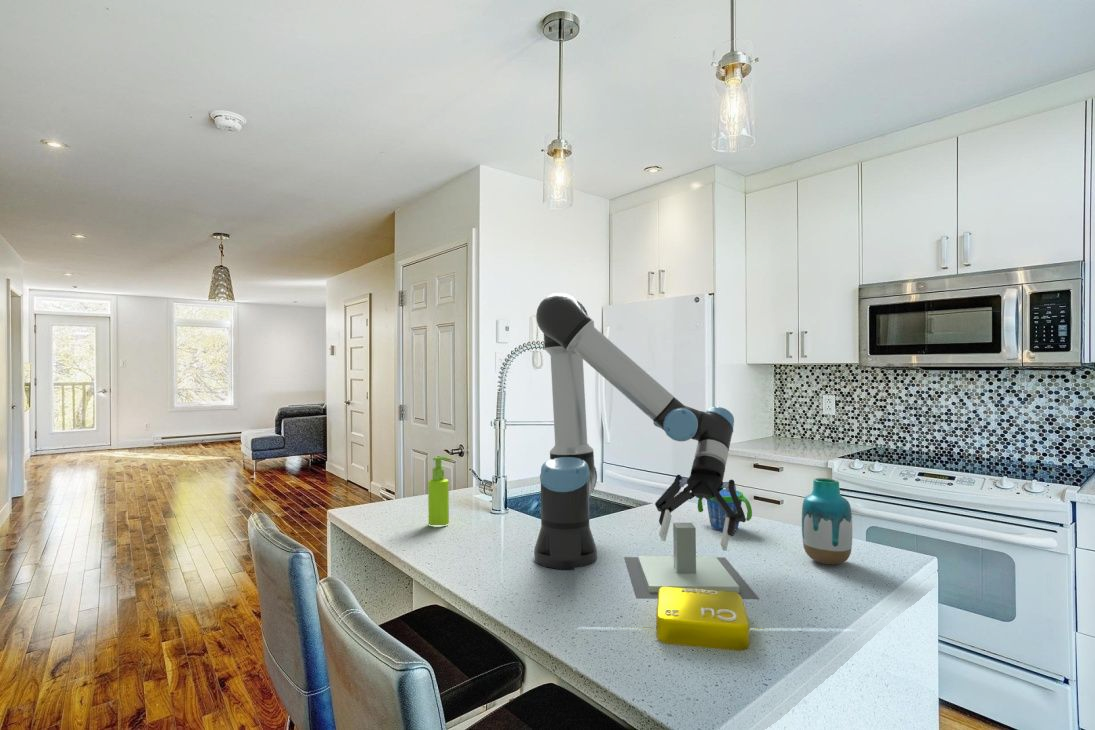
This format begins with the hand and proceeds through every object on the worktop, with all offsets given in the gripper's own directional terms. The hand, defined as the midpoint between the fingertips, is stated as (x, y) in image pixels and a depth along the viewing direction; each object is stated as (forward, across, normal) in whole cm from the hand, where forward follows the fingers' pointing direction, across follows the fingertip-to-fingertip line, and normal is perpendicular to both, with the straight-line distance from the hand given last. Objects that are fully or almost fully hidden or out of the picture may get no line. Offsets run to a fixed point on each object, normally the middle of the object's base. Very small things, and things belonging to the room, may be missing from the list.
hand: (691, 542), depth 122 cm
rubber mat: (+6, +1, -4) cm, 8 cm away
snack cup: (-23, +3, -34) cm, 42 cm away
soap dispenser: (+3, +76, -8) cm, 77 cm away
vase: (-12, -24, -23) cm, 35 cm away
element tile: (+22, -8, +10) cm, 25 cm away
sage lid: (+6, +1, -4) cm, 7 cm away
